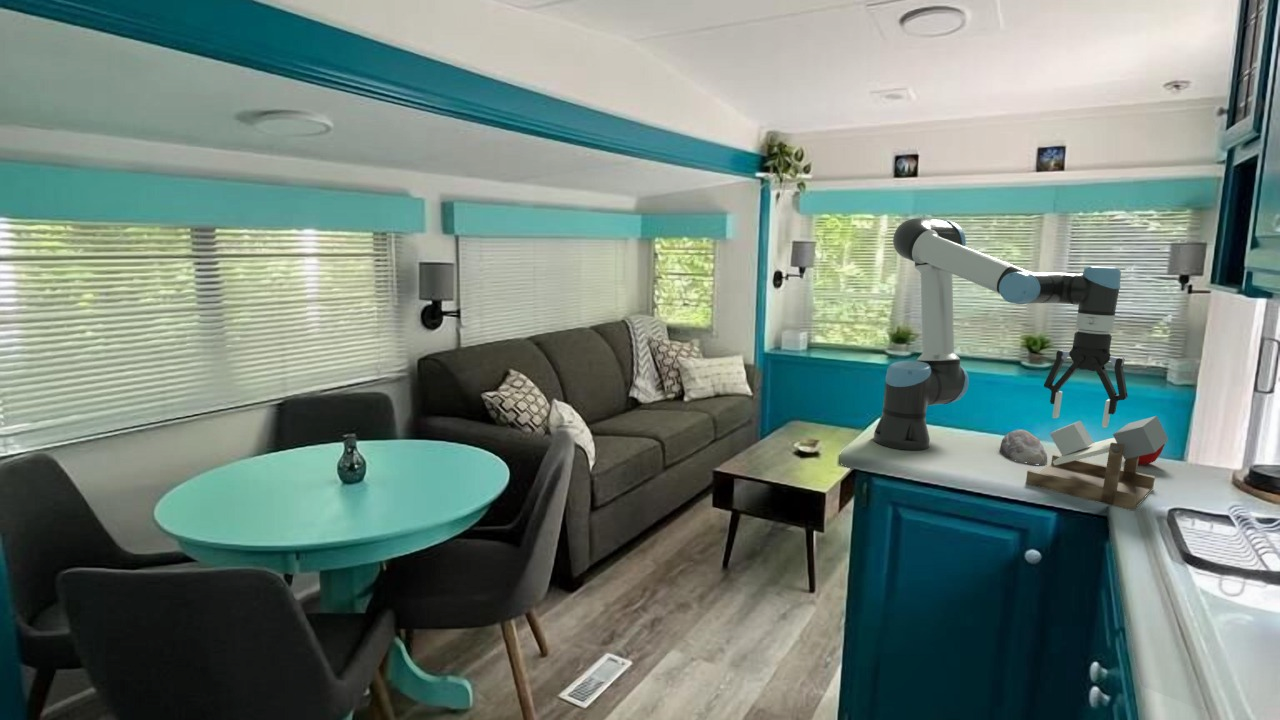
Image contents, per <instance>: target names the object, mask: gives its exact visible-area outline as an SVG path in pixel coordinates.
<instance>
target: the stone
mask: <svg viewBox="0 0 1280 720" xmlns="http://www.w3.org/2000/svg"><path fill="white" fill-rule="evenodd" d="M999 452H1000V453H1001V454H1002V455H1004V456H1005V457H1007V458H1008V459H1010V460H1012V461H1015V460H1016V462H1018V461H1021V462H1020V463H1023V462H1027V463H1031V464H1030V465H1032V464H1039V465H1038V466H1043V465H1044V466H1046V465H1047V464H1048V455H1047V453H1046V450H1045V449H1044V446H1043V444H1042V443H1041V441H1040V439H1039V438H1038V437H1036V436H1034V435H1033V434H1032V433H1031V432H1029V431H1027V430H1025V429H1019V428H1017V429H1016V430H1012V431H1010V432H1008V433H1007V434H1005V435H1004V436H1003V437H1002V440H1001V442H1000V448H999ZM1027 463H1026V464H1027ZM1046 463H1047V464H1046ZM1045 464H1046V465H1045Z"/></svg>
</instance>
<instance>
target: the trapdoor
mask: <svg viewBox="0 0 1280 720" xmlns="http://www.w3.org/2000/svg"><path fill="white" fill-rule="evenodd" d="M1112 436H1113V437H1112V438H1111V437H1110V438H1107V439H1103V440H1100V441H1095V442H1094V443H1093V444H1091V445H1090V446H1088V447H1086V448H1083V449H1081V450H1078V451H1075V452H1073V453H1070V454H1067V455H1064V456H1062V455H1059V456H1060V457H1059V458H1057V459H1056V460H1054V461H1053V463H1054V466H1055V465H1059V464H1063V463H1067V462H1071V461H1075V460H1083V459H1087V458H1091V457H1095V456H1099V455H1103V454H1107V453H1108V454H1109V448H1110V443H1117V444H1122V445H1124V451H1123V457H1122V458H1124V460H1125V459H1129V458H1133V457H1138V456H1142V455H1146V454H1151V453H1155V452H1156V451H1157V450H1158V449H1159V448H1160V447H1161V446H1163V445H1164V444H1165V445H1166V443H1167V442H1168V441H1169V438H1168V436H1167V433H1166V431H1165V430H1164V428H1163V425H1162V423H1161V421H1160V419H1159V417H1158V416H1157V415H1155V416H1151V417H1148V418H1143V419H1140V420H1137V421H1133V422H1128V423H1127V424H1126V425H1124V426H1123V427H1121V428H1120V429H1119V430H1117V431H1115V432H1114V433H1113V434H1112ZM1165 445H1164V446H1165Z"/></svg>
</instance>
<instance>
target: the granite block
mask: <svg viewBox="0 0 1280 720" xmlns="http://www.w3.org/2000/svg"><path fill="white" fill-rule="evenodd" d="M1049 436H1050V438H1051V439H1052V441H1053V442H1054V444H1055V447H1057V449H1058V451H1059V452H1060V455H1061V456H1064V455H1067V454H1070V453H1073V452H1075V451H1078V450H1081V449H1083V448H1086V447H1088V446H1090V445H1091V444H1093V443H1095V442H1094V440H1093V439H1092V436H1090V434H1089V432H1088V430H1087V429H1086V427H1085V426H1084V424H1083V422H1082V421H1081V420H1078V421H1076V422H1073V423H1071V424H1068V425H1066V426H1062V427H1060V428H1058V429H1056V430H1054V431H1052V432H1050V433H1049Z"/></svg>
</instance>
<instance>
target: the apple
mask: <svg viewBox="0 0 1280 720" xmlns="http://www.w3.org/2000/svg"><path fill="white" fill-rule="evenodd" d="M1165 445H1166V443H1165V444H1164V445H1163V446H1161V447H1160V448H1159V449H1158V450H1157V451H1156V452H1155V453H1151V454H1146V455H1142V456H1139V460H1138V465H1139V466H1147V465H1149V464H1152V463H1154V462H1156V461H1157V459H1158V458H1159V457H1160V455H1161V454H1162V451H1163V449H1164V447H1165Z"/></svg>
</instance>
